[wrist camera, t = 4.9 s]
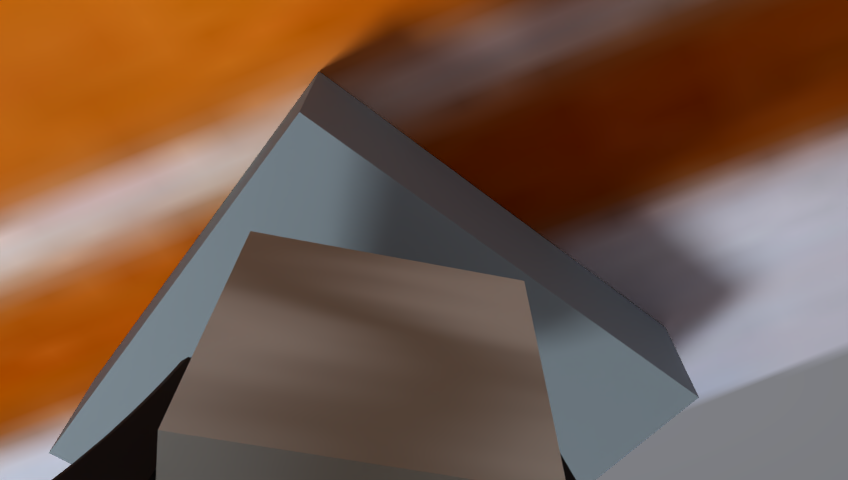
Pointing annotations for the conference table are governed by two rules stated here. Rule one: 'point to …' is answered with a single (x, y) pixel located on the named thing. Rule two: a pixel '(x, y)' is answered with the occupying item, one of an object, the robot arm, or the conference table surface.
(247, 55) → the conference table surface
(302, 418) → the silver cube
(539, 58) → the conference table surface
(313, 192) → the blue-gray box
